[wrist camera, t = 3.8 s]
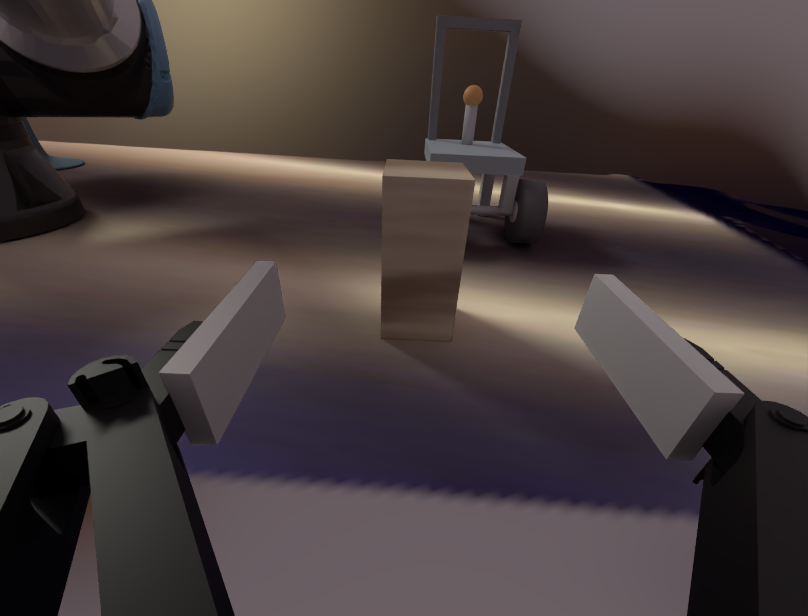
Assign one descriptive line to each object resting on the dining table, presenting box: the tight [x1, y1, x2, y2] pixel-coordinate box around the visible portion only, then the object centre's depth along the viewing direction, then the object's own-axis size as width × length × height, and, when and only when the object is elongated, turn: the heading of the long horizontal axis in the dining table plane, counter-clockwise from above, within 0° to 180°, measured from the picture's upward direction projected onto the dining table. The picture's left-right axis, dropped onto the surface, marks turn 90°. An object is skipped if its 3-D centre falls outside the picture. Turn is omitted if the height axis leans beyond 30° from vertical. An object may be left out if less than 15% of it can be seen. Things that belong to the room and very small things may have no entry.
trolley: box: [425, 15, 548, 244], centre depth 39 cm, size 15×15×22 cm
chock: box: [381, 159, 475, 341], centre depth 24 cm, size 5×5×11 cm
